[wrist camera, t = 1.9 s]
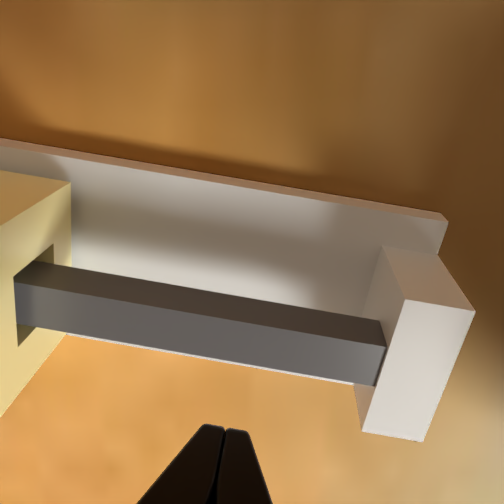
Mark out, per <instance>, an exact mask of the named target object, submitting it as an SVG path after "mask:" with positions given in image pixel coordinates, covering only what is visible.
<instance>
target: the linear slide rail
mask: <svg viewBox="0 0 504 504" xmlns="http://www.w3.org/2000/svg"><path fill="white" fill-rule="evenodd" d="M0 170H3V171H8V172H14V173H20V174H26V175H32V176H38V177H43V178H49V179H55V180H61V181H67V182H71V257H72V267H69V266H63V265H57V264H52V263H46V262H40V261H34V260H33V261H31V262H30V263H29V264H28V265H27V266H25V267H24V268H23V269H22V270H21V271H19V272H18V273H17V274H16V275H15V276H13V282H14V297H15V312H16V324H21V325H27V326H33V327H38V328H44V329H50V330H55V331H61V332H67V333H66V335H71V336H76V337H82V338H88V339H93V340H99V341H105V342H110V343H116V344H122V345H128V346H133V347H139V348H145V349H150V350H156V351H162V352H167V353H173V354H179V355H184V356H190V357H196V358H201V359H207V360H213V361H218V362H224V363H230V364H236V365H241V366H247V367H253V368H258V369H264V370H270V371H275V372H281V373H287V374H292V375H298V376H304V377H309V378H315V379H321V380H326V381H332V382H338V383H343V384H349V385H354V391H355V396H356V402H357V408H358V414H359V419H360V425H361V431H362V432H368V433H373V434H379V435H385V436H390V437H396V438H402V439H407V440H413V441H419V442H423V440H424V437H425V435H426V433H427V430H428V428H429V425H430V423H431V420H432V418H433V415H434V413H435V410H436V408H437V406H438V403H439V401H440V398H441V396H442V393H443V391H444V388H445V386H446V383H447V381H448V378H449V376H450V374H451V371H452V369H453V366H454V364H455V361H456V359H457V356H458V354H459V351H460V349H461V347H462V344H463V342H464V339H465V337H466V334H467V332H468V329H469V327H470V324H471V322H472V319H473V317H474V315H475V312H476V311H475V310H474V308H473V307H472V305H471V304H470V302H469V301H468V299H467V298H466V296H465V295H464V293H463V292H462V290H461V289H460V287H459V286H458V284H457V283H456V282H455V280H454V279H453V277H452V276H451V274H450V273H449V271H448V270H447V268H446V267H445V265H444V264H443V262H442V261H441V259H440V258H439V256H438V252H439V249H440V246H441V244H442V241H443V238H444V235H445V232H446V229H447V226H448V223H449V222H448V221H447V220H446V219H445V217H444V216H443V215H442V214H441V213H438V212H432V211H426V210H421V209H415V208H409V207H403V206H397V205H391V204H385V203H380V202H374V201H368V200H362V199H356V198H350V197H344V196H338V195H333V194H327V193H321V192H315V191H309V190H303V189H297V188H292V187H286V186H280V185H274V184H268V183H262V182H256V181H251V180H245V179H239V178H233V177H227V176H221V175H215V174H209V173H204V172H198V171H192V170H186V169H180V168H174V167H168V166H163V165H157V164H151V163H145V162H139V161H133V160H127V159H122V158H116V157H110V156H104V155H98V154H92V153H86V152H80V151H75V150H69V149H63V148H57V147H51V146H45V145H39V144H34V143H28V142H22V141H16V140H10V139H4V138H0Z"/></svg>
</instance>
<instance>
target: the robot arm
mask: <svg viewBox="0 0 504 504" xmlns="http://www.w3.org/2000/svg"><path fill="white" fill-rule="evenodd" d="M224 435H225V436H224ZM137 504H273V503H272V500H271V497H270V494H269V491H268V488H267V485H266V483H265V480H264V477H263V474H262V471H261V468H260V465H259V462H258V459H257V456H256V453H255V450H254V447H253V444H252V441H251V438H250V435H249V433H248V432H247V431H244V430H238V429H233V428H228V429H226V431H225V429H224V427H222V426H216V425H211V424H203V425H202V426H201V427H200V428H199V429H198V431H197V432H196V433H195V434H194V435H193V437H192V438H191V439H190V440H189V441H188V443H187V444H186V445H185V446H184V447H183V449H182V450H181V451H180V452H179V453H178V455H177V456H176V457H175V458H174V459H173V461H172V462H171V463H170V464H169V465H168V466H167V468H166V469H165V470H164V471H163V472H162V474H161V475H160V476H159V477H158V478H157V480H156V481H155V482H154V483H153V484H152V486H151V487H150V488H149V489H148V490H147V492H146V493H145V494H144V495H143V496H142V498H141V499H140V500H139V501H138V502H137Z"/></svg>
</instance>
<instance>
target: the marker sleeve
mask: <svg viewBox="0 0 504 504" xmlns="http://www.w3.org/2000/svg"><path fill="white" fill-rule="evenodd" d="M33 260H34V261H40V262H46V263H52V264H57V265H63V266H69V267H72V257H71V182H67V181H61V180H55V179H49V178H43V177H38V176H32V175H26V174H20V173H14V172H8V171H3V170H0V417H1V416H2V415H3V414H4V412H5V411H6V410H7V408H8V407H9V406H10V405H11V403H12V402H13V401H14V400H15V398H16V397H17V396H18V394H19V393H20V392H21V391H22V389H23V388H24V387H25V386H26V384H27V383H28V382H29V380H30V379H31V378H32V377H33V375H34V374H35V373H36V372H37V370H38V369H39V368H40V366H41V365H42V364H43V363H44V361H45V360H46V359H47V358H48V356H49V355H50V354H51V352H52V351H53V350H54V349H55V347H56V346H57V345H58V344H59V342H60V341H61V340H62V338H63V337H64V336H65V335H66V333H67V332H61V331H55V330H50V329H44V328H38V327H33V326H27V325H21V324H16V312H15V297H14V282H13V276H15V275H16V274H17V273H18V272H19V271H21V270H22V269H23V268H24V267H25V266H27V265H28V264H29V263H30V262H31V261H33Z"/></svg>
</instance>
